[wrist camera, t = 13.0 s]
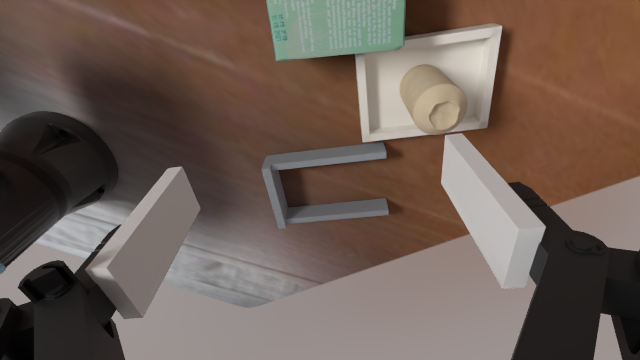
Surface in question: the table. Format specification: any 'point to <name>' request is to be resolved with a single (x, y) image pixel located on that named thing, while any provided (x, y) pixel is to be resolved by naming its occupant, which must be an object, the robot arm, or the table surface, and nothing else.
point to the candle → (432, 99)
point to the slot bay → (318, 158)
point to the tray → (441, 52)
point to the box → (335, 27)
